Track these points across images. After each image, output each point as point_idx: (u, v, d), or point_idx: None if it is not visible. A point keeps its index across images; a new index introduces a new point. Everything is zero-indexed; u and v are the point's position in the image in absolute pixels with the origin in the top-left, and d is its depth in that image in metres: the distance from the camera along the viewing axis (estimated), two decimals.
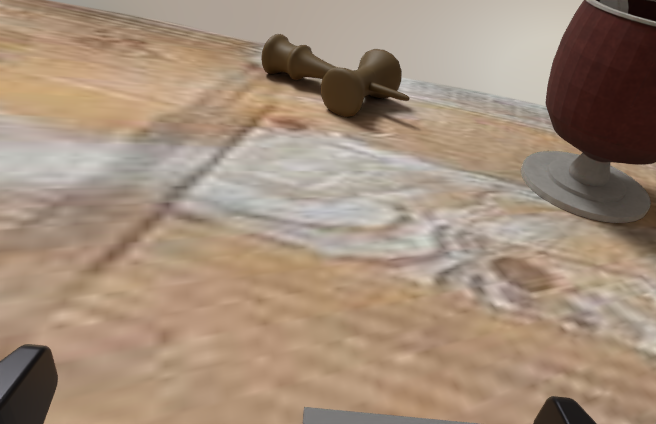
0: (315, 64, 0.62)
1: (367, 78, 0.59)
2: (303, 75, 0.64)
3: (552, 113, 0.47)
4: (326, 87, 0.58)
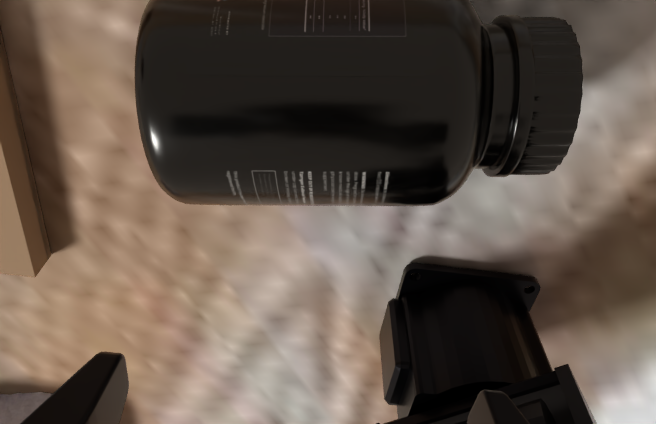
0: None
1: None
2: None
3: None
4: None
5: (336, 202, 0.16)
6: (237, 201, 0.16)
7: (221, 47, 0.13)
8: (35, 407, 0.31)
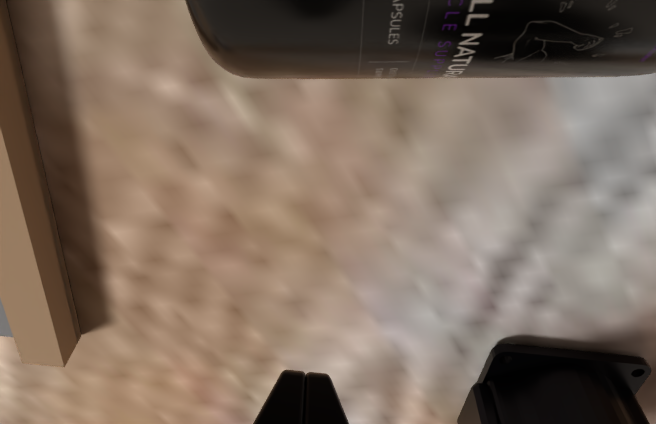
0: None
1: None
2: None
3: None
4: None
5: None
6: None
7: None
8: None
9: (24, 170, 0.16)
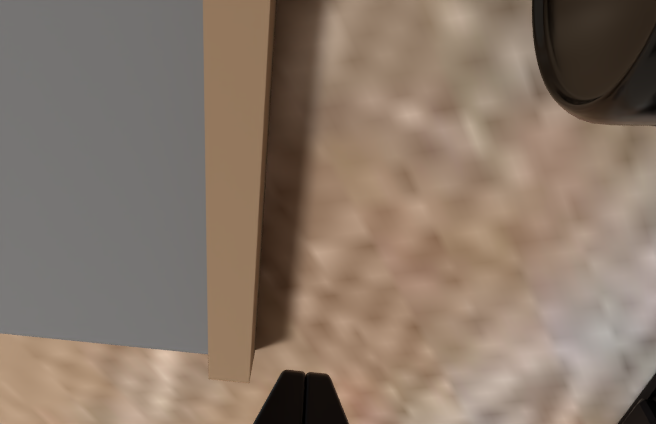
0: None
1: None
2: None
3: None
4: None
5: None
6: None
7: None
8: None
9: (261, 195, 0.16)
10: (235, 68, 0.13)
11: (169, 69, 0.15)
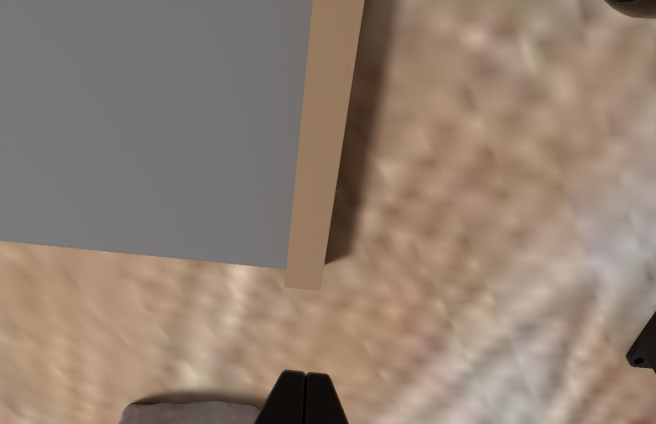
0: None
1: None
2: None
3: None
4: None
5: None
6: None
7: None
8: (214, 416, 0.30)
9: None
10: None
11: None
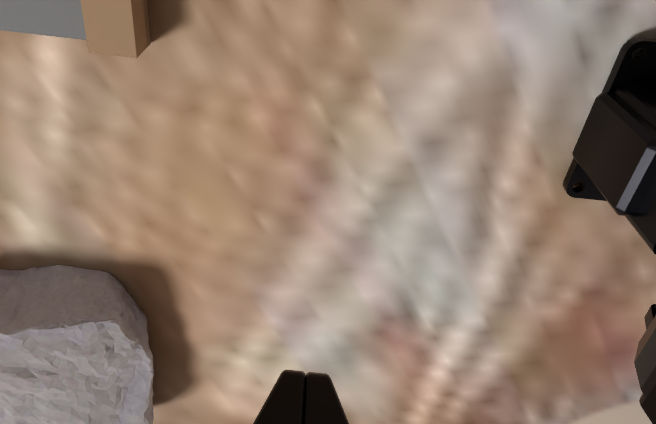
0: None
1: None
2: None
3: None
4: None
5: None
6: None
7: None
8: (54, 281, 0.25)
9: None
10: None
11: None
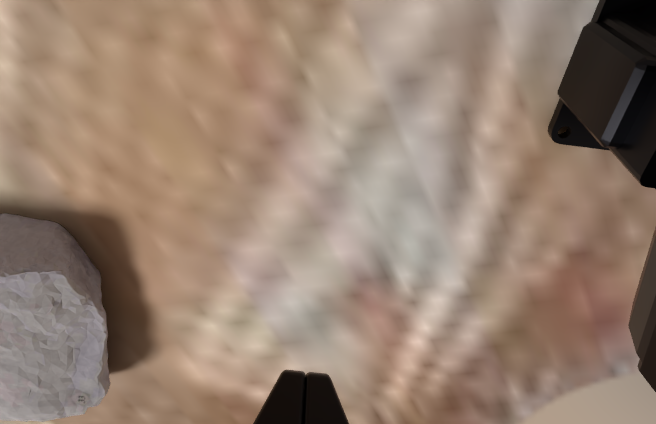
0: None
1: None
2: None
3: None
4: None
5: None
6: None
7: None
8: None
9: None
10: None
11: None
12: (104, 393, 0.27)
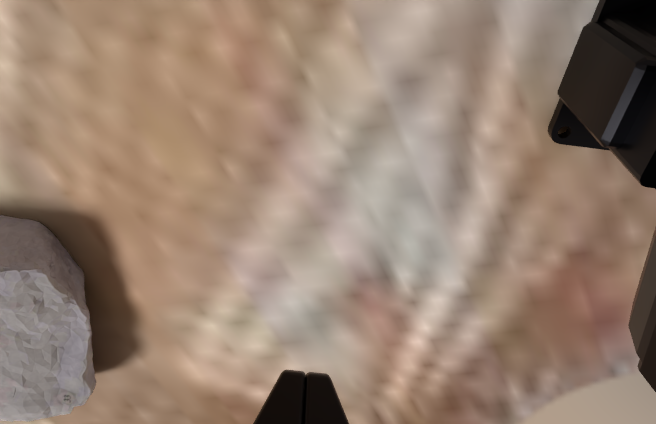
0: None
1: None
2: None
3: None
4: None
5: None
6: None
7: None
8: None
9: None
10: None
11: None
12: (89, 392, 0.27)
